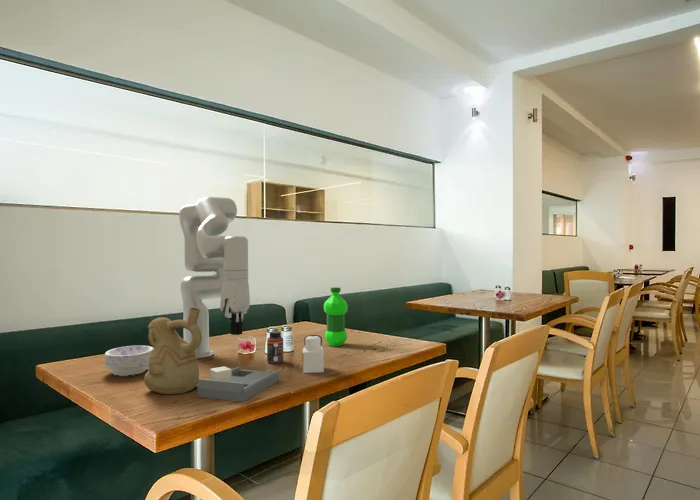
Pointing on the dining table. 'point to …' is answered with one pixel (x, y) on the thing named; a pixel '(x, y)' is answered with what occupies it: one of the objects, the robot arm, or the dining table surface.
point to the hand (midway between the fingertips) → (236, 334)
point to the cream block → (221, 374)
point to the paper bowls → (128, 360)
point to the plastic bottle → (335, 318)
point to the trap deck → (237, 385)
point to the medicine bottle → (313, 354)
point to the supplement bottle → (275, 348)
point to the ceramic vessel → (173, 355)
